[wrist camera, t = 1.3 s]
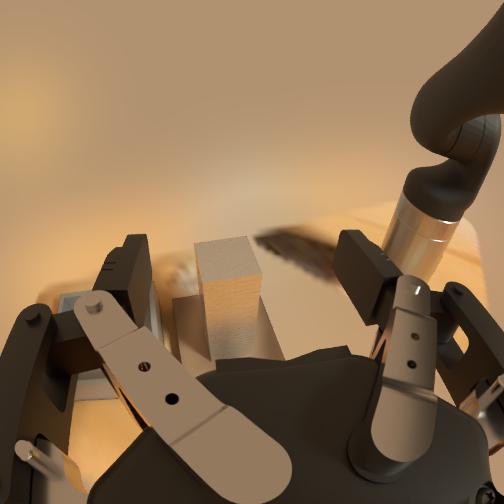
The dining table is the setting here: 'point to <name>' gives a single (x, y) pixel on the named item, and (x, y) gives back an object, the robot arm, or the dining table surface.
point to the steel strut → (228, 295)
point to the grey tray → (93, 381)
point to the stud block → (196, 344)
